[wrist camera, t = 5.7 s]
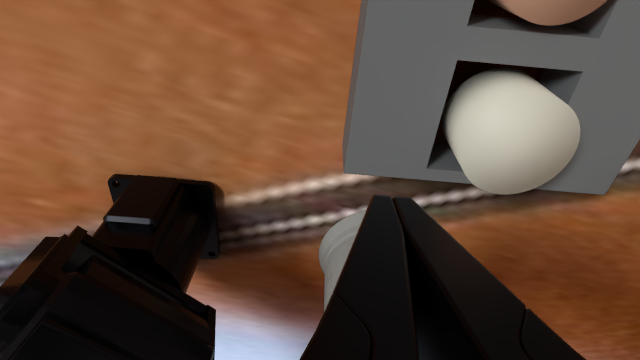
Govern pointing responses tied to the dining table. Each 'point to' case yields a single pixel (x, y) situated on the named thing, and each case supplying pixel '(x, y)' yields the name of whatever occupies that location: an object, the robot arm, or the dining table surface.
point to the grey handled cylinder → (337, 250)
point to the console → (489, 47)
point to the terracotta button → (550, 9)
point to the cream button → (509, 131)
